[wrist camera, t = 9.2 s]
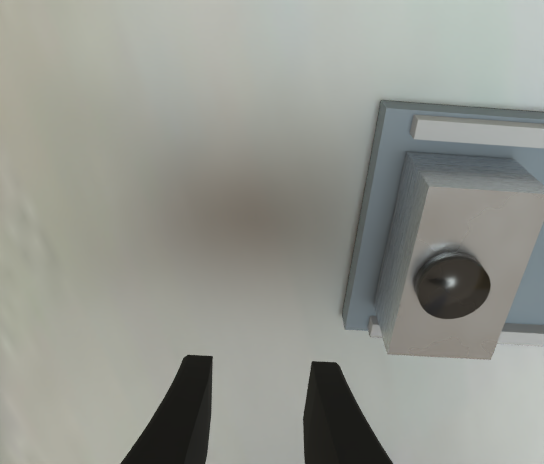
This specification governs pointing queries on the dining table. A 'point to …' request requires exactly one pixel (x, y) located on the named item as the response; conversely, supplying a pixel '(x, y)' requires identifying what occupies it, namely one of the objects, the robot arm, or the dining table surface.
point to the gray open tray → (452, 141)
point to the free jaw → (456, 253)
